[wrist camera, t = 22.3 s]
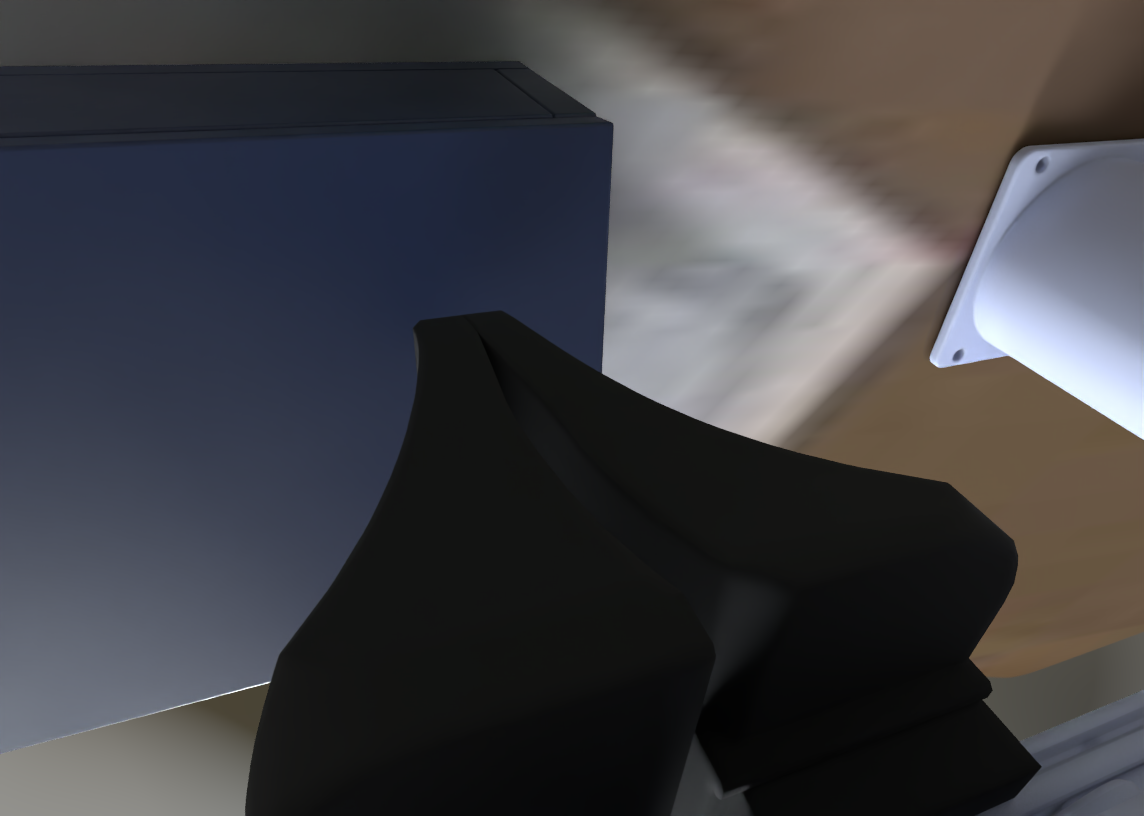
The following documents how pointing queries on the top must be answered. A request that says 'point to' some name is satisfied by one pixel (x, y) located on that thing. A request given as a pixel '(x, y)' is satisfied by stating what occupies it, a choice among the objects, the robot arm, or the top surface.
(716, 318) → the top surface
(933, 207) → the top surface
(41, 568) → the cover
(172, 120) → the dark blue box
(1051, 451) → the top surface
